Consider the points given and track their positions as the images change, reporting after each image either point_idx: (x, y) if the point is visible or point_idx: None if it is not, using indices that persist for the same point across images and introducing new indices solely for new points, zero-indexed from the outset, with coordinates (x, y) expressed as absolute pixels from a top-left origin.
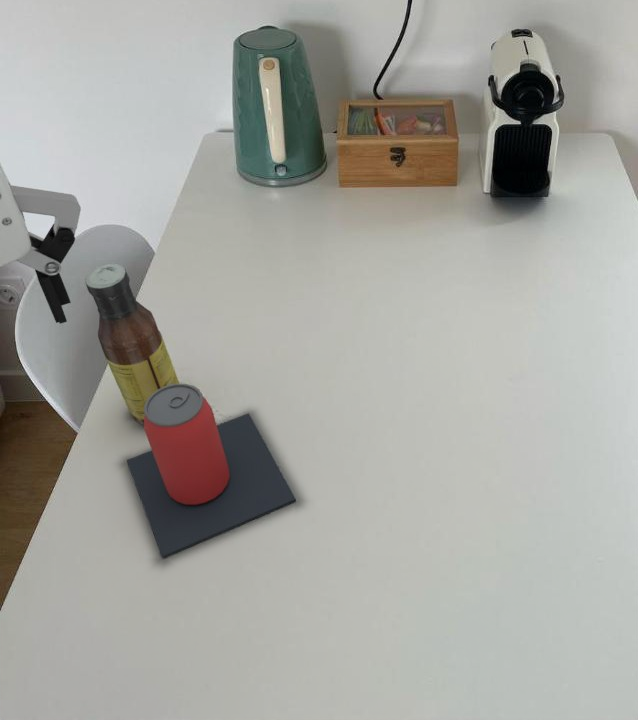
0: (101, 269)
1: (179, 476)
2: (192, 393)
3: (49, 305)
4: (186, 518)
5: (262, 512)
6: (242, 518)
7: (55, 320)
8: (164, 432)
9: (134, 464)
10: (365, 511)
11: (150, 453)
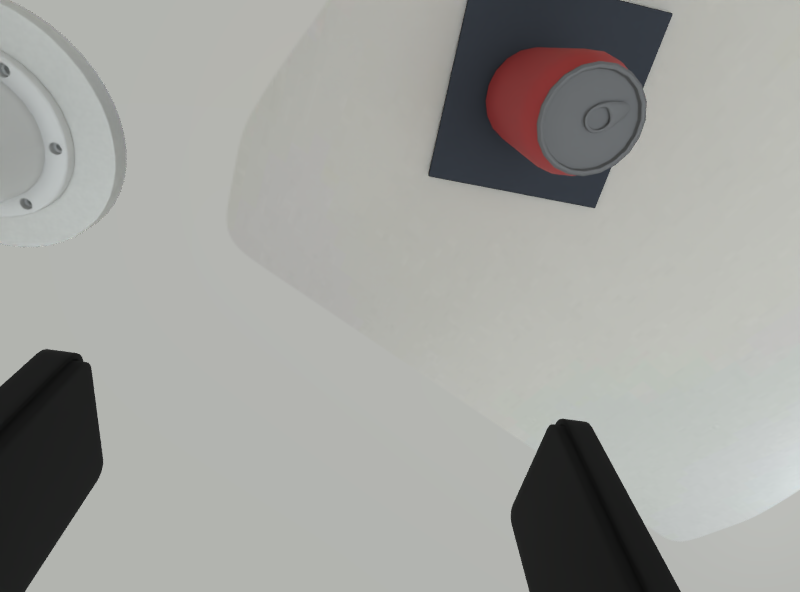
0: None
1: (510, 143)
2: (631, 115)
3: (530, 589)
4: (481, 143)
5: (554, 199)
6: (531, 190)
7: (513, 528)
8: (539, 157)
9: None
10: (632, 268)
11: None
